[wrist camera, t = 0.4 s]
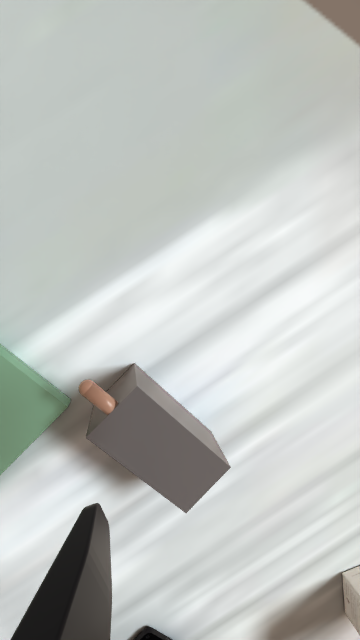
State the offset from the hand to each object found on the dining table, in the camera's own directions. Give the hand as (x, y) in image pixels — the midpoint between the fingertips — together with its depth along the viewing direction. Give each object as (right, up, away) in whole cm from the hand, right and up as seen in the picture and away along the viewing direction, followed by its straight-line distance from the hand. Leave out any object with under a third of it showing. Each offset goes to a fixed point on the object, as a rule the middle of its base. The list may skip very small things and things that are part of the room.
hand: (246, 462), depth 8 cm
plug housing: (-5, -3, +14) cm, 15 cm away
